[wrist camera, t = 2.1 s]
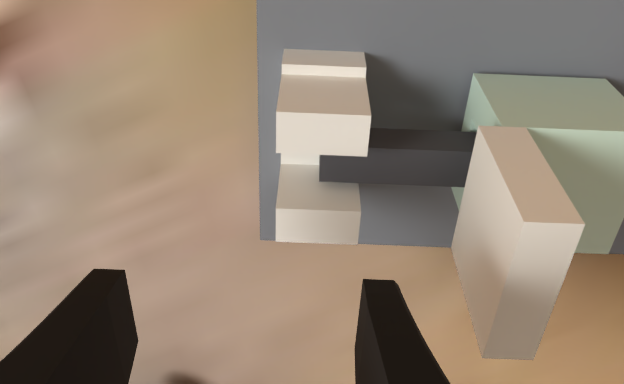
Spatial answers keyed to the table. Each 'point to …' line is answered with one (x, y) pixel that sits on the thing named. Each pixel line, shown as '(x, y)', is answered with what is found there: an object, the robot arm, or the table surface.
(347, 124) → the board
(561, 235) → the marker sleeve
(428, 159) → the dark grey bar
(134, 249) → the table surface
